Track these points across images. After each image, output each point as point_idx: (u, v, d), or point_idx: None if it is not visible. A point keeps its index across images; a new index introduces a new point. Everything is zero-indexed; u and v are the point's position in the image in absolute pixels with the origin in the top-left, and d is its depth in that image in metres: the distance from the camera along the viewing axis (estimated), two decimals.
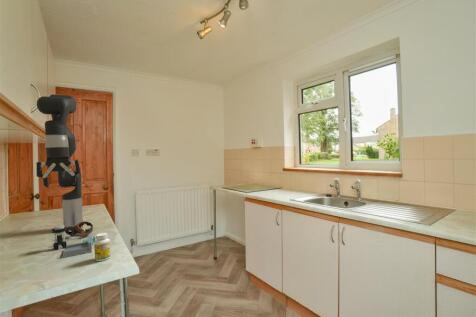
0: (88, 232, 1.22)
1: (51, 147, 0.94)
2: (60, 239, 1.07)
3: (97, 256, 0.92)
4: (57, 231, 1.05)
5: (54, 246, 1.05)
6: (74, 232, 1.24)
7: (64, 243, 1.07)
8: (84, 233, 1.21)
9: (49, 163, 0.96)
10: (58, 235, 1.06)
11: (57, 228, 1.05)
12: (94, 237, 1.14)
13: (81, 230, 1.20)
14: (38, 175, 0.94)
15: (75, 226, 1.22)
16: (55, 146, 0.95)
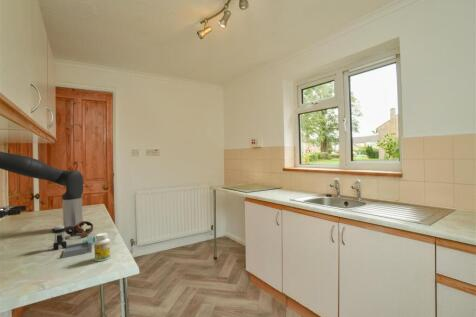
0: (88, 232, 1.23)
1: None
2: (60, 239, 1.07)
3: (97, 256, 0.92)
4: (57, 231, 1.05)
5: (54, 246, 1.05)
6: (74, 232, 1.25)
7: (64, 243, 1.07)
8: (84, 233, 1.21)
9: None
10: (58, 235, 1.06)
11: (57, 228, 1.05)
12: (94, 237, 1.14)
13: (81, 230, 1.21)
14: None
15: (75, 226, 1.22)
16: None
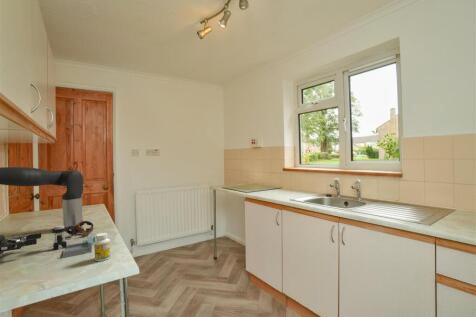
0: (89, 231, 1.24)
1: None
2: (60, 239, 1.07)
3: (97, 256, 0.92)
4: (57, 231, 1.05)
5: (54, 246, 1.05)
6: (75, 231, 1.25)
7: (64, 243, 1.07)
8: (85, 232, 1.22)
9: None
10: (58, 235, 1.06)
11: (57, 228, 1.05)
12: (94, 237, 1.14)
13: (82, 229, 1.21)
14: None
15: (76, 225, 1.23)
16: None
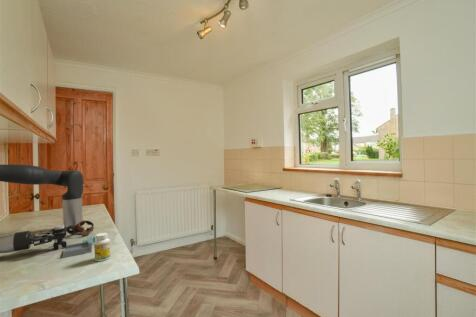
0: (89, 231, 1.24)
1: None
2: (60, 239, 1.07)
3: (97, 256, 0.92)
4: (57, 231, 1.05)
5: (54, 246, 1.05)
6: (75, 231, 1.26)
7: (64, 243, 1.07)
8: (85, 232, 1.23)
9: None
10: None
11: (57, 228, 1.05)
12: (94, 237, 1.14)
13: (82, 229, 1.22)
14: None
15: (76, 225, 1.24)
16: None
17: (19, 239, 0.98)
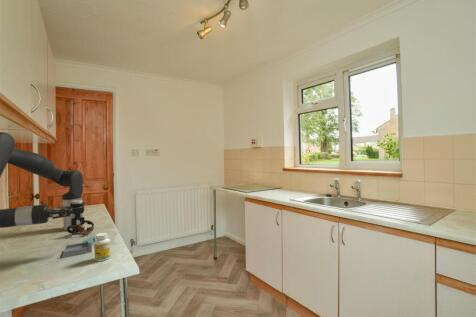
0: (89, 230, 1.25)
1: None
2: (78, 214, 1.02)
3: (97, 256, 0.92)
4: (75, 205, 1.01)
5: (72, 221, 1.01)
6: (75, 231, 1.27)
7: (82, 219, 1.03)
8: (86, 231, 1.23)
9: None
10: None
11: (75, 202, 1.01)
12: (94, 237, 1.14)
13: (83, 228, 1.23)
14: None
15: (76, 225, 1.24)
16: None
17: (37, 212, 0.94)
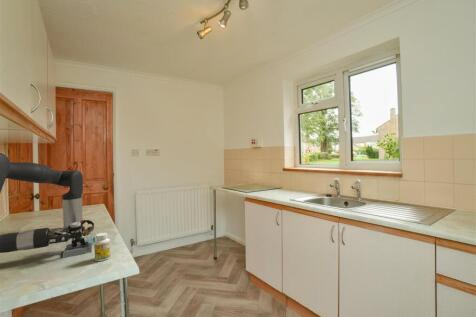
0: (90, 230, 1.26)
1: None
2: None
3: (97, 256, 0.92)
4: (74, 229, 1.01)
5: (72, 244, 1.03)
6: None
7: (82, 240, 1.05)
8: (86, 231, 1.24)
9: None
10: None
11: (73, 226, 1.02)
12: (94, 237, 1.14)
13: (83, 228, 1.24)
14: None
15: None
16: None
17: (39, 236, 0.94)
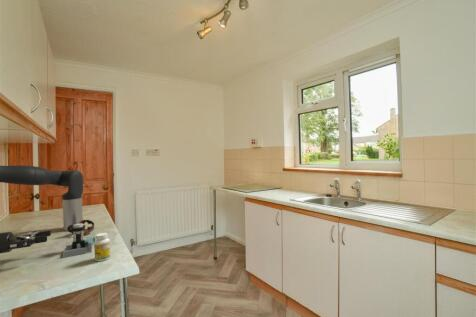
0: (90, 230, 1.26)
1: None
2: (79, 238, 1.04)
3: (97, 256, 0.92)
4: (76, 230, 1.02)
5: (73, 245, 1.03)
6: None
7: (82, 242, 1.05)
8: (86, 231, 1.25)
9: None
10: (77, 234, 1.04)
11: (76, 226, 1.03)
12: (94, 237, 1.14)
13: None
14: None
15: None
16: None
17: None
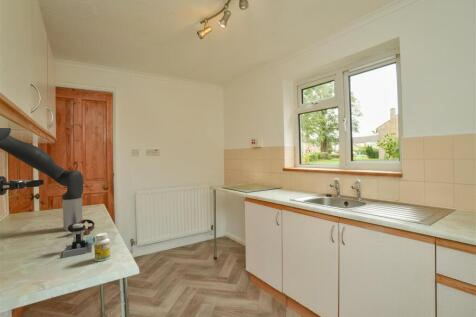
0: (90, 229, 1.27)
1: None
2: (78, 238, 1.04)
3: (97, 256, 0.92)
4: (75, 230, 1.02)
5: (72, 245, 1.03)
6: None
7: (82, 242, 1.05)
8: (87, 230, 1.25)
9: None
10: (77, 234, 1.04)
11: (75, 227, 1.03)
12: (94, 237, 1.14)
13: None
14: None
15: None
16: None
17: None
